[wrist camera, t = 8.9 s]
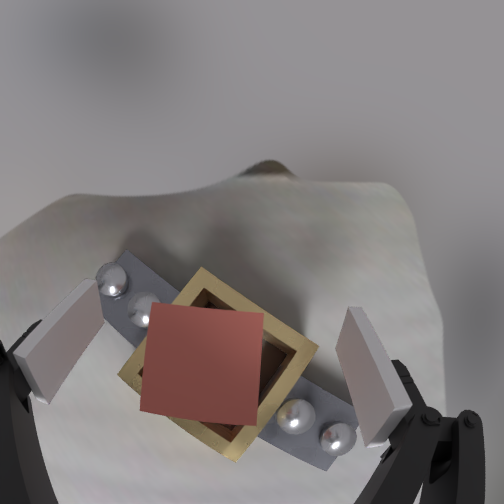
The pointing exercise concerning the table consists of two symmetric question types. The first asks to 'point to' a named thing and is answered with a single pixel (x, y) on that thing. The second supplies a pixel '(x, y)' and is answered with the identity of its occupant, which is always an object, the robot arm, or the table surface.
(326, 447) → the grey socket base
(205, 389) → the link pin
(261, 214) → the table surface
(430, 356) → the table surface
